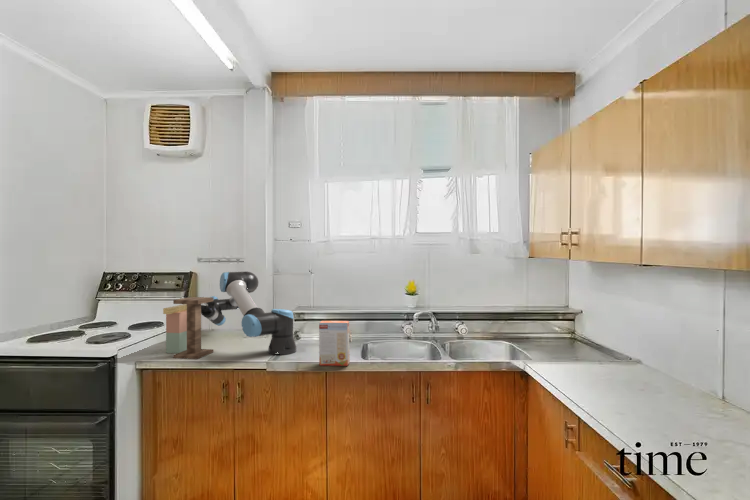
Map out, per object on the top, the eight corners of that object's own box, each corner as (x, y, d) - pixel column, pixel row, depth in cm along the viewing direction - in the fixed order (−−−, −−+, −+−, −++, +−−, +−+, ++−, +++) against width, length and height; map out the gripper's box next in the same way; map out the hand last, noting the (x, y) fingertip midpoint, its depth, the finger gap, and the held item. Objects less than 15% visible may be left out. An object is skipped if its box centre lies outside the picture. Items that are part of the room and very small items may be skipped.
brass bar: (195, 308, 230) (195, 303, 230) (170, 314, 208) (170, 308, 209) (189, 308, 231) (189, 303, 231) (163, 314, 209) (163, 308, 209)
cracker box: (349, 363, 193) (349, 320, 193) (347, 366, 187) (347, 322, 187) (321, 362, 194) (321, 320, 195) (318, 365, 188) (318, 322, 189)
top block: (190, 329, 223) (190, 310, 223) (179, 333, 213) (179, 312, 213) (178, 329, 224) (178, 309, 224) (166, 332, 214) (166, 312, 214)
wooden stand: (213, 352, 215) (213, 297, 215) (197, 358, 201) (198, 300, 202) (190, 351, 217) (190, 297, 218) (173, 357, 203) (173, 300, 204)
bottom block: (190, 348, 223) (190, 329, 223) (179, 353, 213) (179, 333, 213) (178, 348, 224) (178, 329, 224) (166, 352, 214) (166, 332, 214)
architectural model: (349, 343, 237) (349, 331, 237) (339, 342, 239) (339, 330, 239) (351, 342, 240) (351, 330, 240) (341, 341, 242) (341, 329, 243)
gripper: (226, 318, 245) (209, 305, 227) (189, 317, 249) (170, 304, 231) (229, 307, 249) (213, 293, 231) (193, 306, 253) (174, 292, 235)
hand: (191, 299), depth 231 cm, fingers open, 13 cm apart
